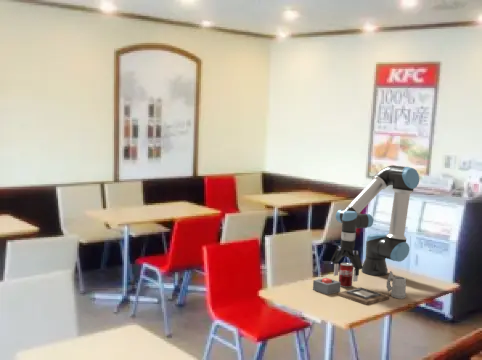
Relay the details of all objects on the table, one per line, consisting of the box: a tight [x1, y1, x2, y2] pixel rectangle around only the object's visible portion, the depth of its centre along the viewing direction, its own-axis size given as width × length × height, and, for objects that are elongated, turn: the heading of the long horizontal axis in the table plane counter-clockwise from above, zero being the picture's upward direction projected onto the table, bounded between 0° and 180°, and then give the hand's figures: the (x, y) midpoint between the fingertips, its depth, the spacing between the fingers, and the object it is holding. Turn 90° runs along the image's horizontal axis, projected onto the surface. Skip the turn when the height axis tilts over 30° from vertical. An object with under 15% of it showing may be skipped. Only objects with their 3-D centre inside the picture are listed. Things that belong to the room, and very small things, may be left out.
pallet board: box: [337, 287, 390, 306], centre depth 299 cm, size 18×18×2 cm
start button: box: [321, 277, 333, 284], centre depth 308 cm, size 5×5×5 cm
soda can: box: [338, 262, 354, 288], centre depth 318 cm, size 7×7×12 cm
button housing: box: [312, 278, 341, 295], centre depth 308 cm, size 10×10×5 cm
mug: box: [386, 270, 407, 300], centre depth 304 cm, size 8×12×12 cm, turn 35°
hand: (345, 278), depth 318 cm, fingers open, 13 cm apart
